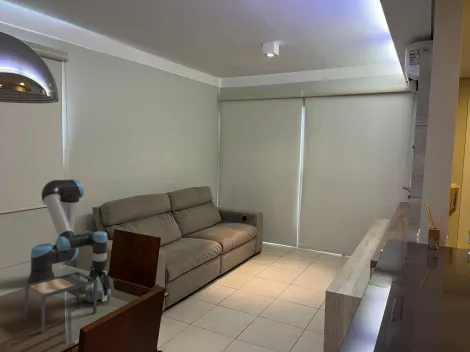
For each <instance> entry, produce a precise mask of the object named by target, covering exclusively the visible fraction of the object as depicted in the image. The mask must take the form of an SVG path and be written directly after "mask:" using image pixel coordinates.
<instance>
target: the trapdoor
mask: <svg viewBox="0 0 470 352" xmlns="http://www.w3.org/2000/svg"><path fill="white" fill-rule="evenodd" d="M86 282H87V281H85V280H82V279H79V278H77V277H76V275H75V276H72V275H70V276H66V277H62V278H59V279H55V280H51V281H47V282H43V283H39V284H35V285H31V286H30V287H29V289H32V290H33V291H35V292H37V293H38V294H40V295H43V294H47V293H50V292H54V291H58V290H61V289H65V288H68V287H72V286H75V285H79V284H82V283H86ZM86 290H87V286H83V287H80V288H77V289H73V290H70V291H66V292H67V293H68V294H70V295H72V296H74V297H76V296H79V297H80V296H83V295H86Z"/></svg>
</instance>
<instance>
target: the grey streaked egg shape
mask: <svg viewBox="0 0 470 352" xmlns="http://www.w3.org/2000/svg"><path fill="white" fill-rule="evenodd" d="M102 290H103V287H102V284H97V301H100V300H101V301H102ZM93 296H94V287H91V288H90V287H87V288H86V294H85V298H86V301H87V302H88V303H93ZM111 296H112V289H111V288H110V289H108V294H107V299H109V298H110V297H111Z"/></svg>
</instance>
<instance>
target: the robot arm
mask: <svg viewBox="0 0 470 352" xmlns="http://www.w3.org/2000/svg"><path fill="white" fill-rule="evenodd" d="M84 191H85V190H84V185H83V183H82V182H81V180H78V179H71V178H70V179H54V180H50V181H48V182H47V183H45V185H44V186H43V187H42V191H41V201H42V203H43V204H44V205H46V208H47V210H48V213H49V215H50V218H51V221H52V223H53V225H54V229H55V231H56V233H57V238H56V240H55V244H52V243H51V242H50V243H40V244H37V245H35V246H33V248H31V250H30V272H29V276H28V277H27V284H26V285H28V284H32V283H35V282H39V281H43V280H47V279H51V278H55V277H56V276H55V274H54V273H55V272H54V271H53V265H55V264H56V265H57V264H60V263H67V262H71V261H74V260H76V259H77V257H78V256H79V255H78V254H79V250H80V248H85V247H90V248H92V257H91V258H92V261H91V265H90V267H89V268H90V270H89V274H88V276H89V277H92V278H94V279H96V280H97V278H98V279H99V280H100V283H101V285H102V287H103V290H102V299H101V302H106V301H108V298H107V294H108V289H111V284H110V283H111V282H110V279H109V271H108V270H107V271H106V270H105V268H106V267H107V259H108V233H107V232H106V231H95V232H93V231H90V230H89V231H88V230H87V231H84V232H83V233H78V234H77V233H76V234H75V223H76V221H75V220H76V210H77V204H78V203H79V202H80V199H81V198H83V196H84V194H85V192H84ZM89 281H90V280H88V279H87V282H89ZM89 286H90V287H89V288H91V287H94V284H90V285H89Z"/></svg>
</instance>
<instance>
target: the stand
mask: <svg viewBox="0 0 470 352" xmlns="http://www.w3.org/2000/svg"><path fill="white" fill-rule="evenodd" d="M70 275H72V276H75V277H77V278H79V279H80V277H82V278H83V279H85V280H87V281H85V282H86V283H82V284H79V285H75V286H72V287H68V288H65V289H61V290H58V291H54V292H50V293H47V294H43V295H41V294H40V295H41V300H40V301H41V304H40V305H41V307H40V308H41V309H40V311H41V313H40V318H41V319H40V333H41V334H43V333H44V334H45V332H46V298H49V297H52V296H55V295H59V294H62V293H66V292H67V291H70V290H73V289H77V288H80V287H83V286H86V287H87V286H90V284H94V296H93V302H92V303H93V304H92V313H93V314H94V315H95V314H97V307H98V305H97V304H98V300H97V285H98V279H97V278H96V279H94V278H92V277H89V275H87V274H85V273H83V272H80V271H76V272H72V273H67V274H64V275H60V276H57V277H56V276H55V278H51V279H47V280H43V281H39V282H35V283H32V284H28V285H27V284H25V286H24V321H25V322H27V321H29V308H30V307H29V303H30V302H29V299H30V297H29V295H30V293H29V292H30V291H29V289H30V286H31V285H35V284H39V283H43V282H47V281H51V280H55V279H59V278H62V277H66V276H70ZM88 280H90V281H89V282H88ZM75 304H76V305H78V304H80V296H75Z"/></svg>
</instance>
